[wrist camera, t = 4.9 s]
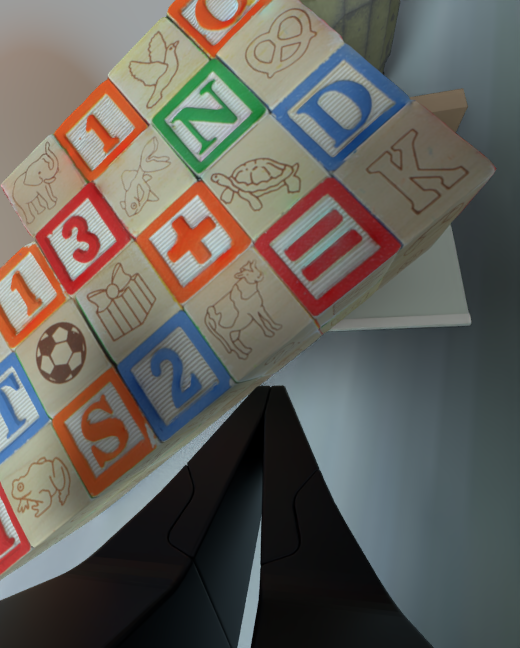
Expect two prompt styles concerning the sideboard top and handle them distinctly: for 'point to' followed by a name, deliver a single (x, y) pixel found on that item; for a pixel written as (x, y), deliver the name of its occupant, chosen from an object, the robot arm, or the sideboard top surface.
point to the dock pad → (421, 265)
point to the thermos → (361, 25)
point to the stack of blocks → (199, 245)
